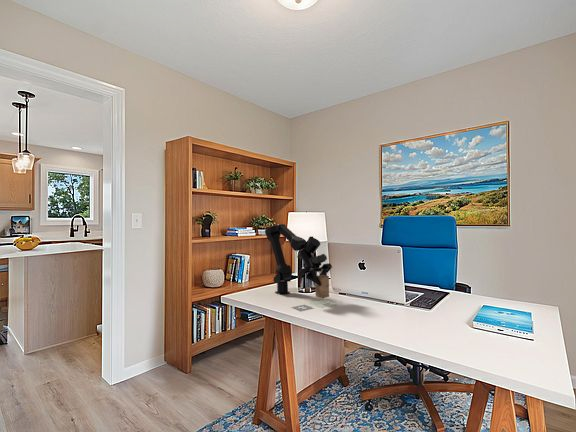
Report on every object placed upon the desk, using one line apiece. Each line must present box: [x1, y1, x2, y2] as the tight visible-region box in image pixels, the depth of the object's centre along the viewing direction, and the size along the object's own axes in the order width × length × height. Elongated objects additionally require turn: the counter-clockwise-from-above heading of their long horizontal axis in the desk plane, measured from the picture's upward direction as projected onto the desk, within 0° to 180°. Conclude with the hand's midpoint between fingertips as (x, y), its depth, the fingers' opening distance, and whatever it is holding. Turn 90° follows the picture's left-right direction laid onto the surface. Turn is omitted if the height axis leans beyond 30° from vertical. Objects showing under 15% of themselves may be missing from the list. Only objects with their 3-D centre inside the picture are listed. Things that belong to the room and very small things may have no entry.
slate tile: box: [290, 304, 315, 312], centre depth 145 cm, size 8×8×1 cm
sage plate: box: [308, 299, 337, 309], centre depth 151 cm, size 10×10×1 cm
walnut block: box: [314, 274, 330, 299], centre depth 151 cm, size 5×5×10 cm
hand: (324, 284), depth 150 cm, fingers closed on walnut block, 5 cm apart
